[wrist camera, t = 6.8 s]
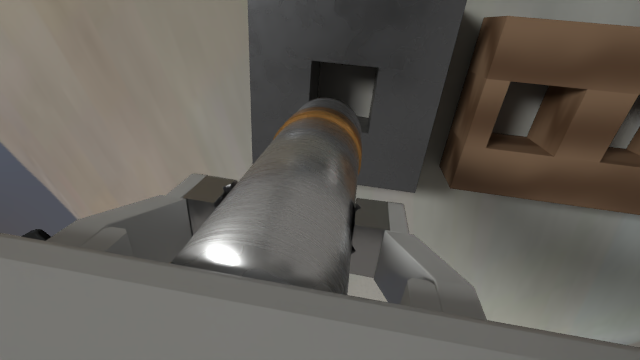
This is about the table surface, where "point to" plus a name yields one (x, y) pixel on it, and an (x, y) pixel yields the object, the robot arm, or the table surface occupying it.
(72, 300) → the robot arm
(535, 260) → the table surface
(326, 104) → the metal vial
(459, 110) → the walnut rack
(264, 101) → the socket block
